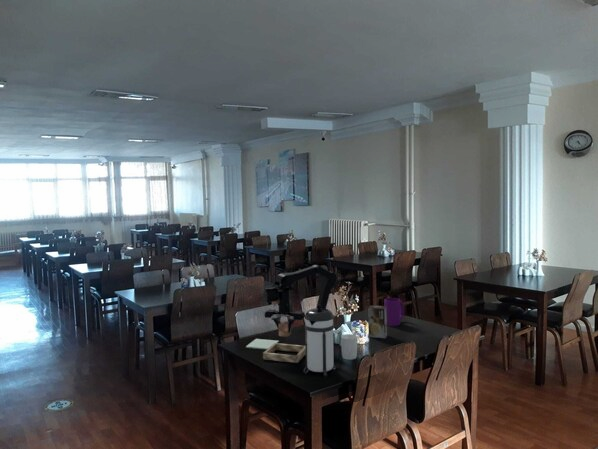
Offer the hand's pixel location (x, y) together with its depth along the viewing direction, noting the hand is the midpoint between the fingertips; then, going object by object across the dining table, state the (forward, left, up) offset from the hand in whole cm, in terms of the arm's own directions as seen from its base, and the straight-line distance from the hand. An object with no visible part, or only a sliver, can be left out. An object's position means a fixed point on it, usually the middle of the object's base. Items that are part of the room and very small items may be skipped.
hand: (284, 332), depth 228 cm
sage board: (+17, -12, -12) cm, 24 cm away
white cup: (-30, -6, -12) cm, 33 cm away
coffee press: (-21, +13, -12) cm, 28 cm away
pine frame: (0, 0, -12) cm, 12 cm away
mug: (-45, -69, -12) cm, 83 cm away
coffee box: (-38, -42, -12) cm, 58 cm away
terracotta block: (0, 0, -1) cm, 1 cm away
